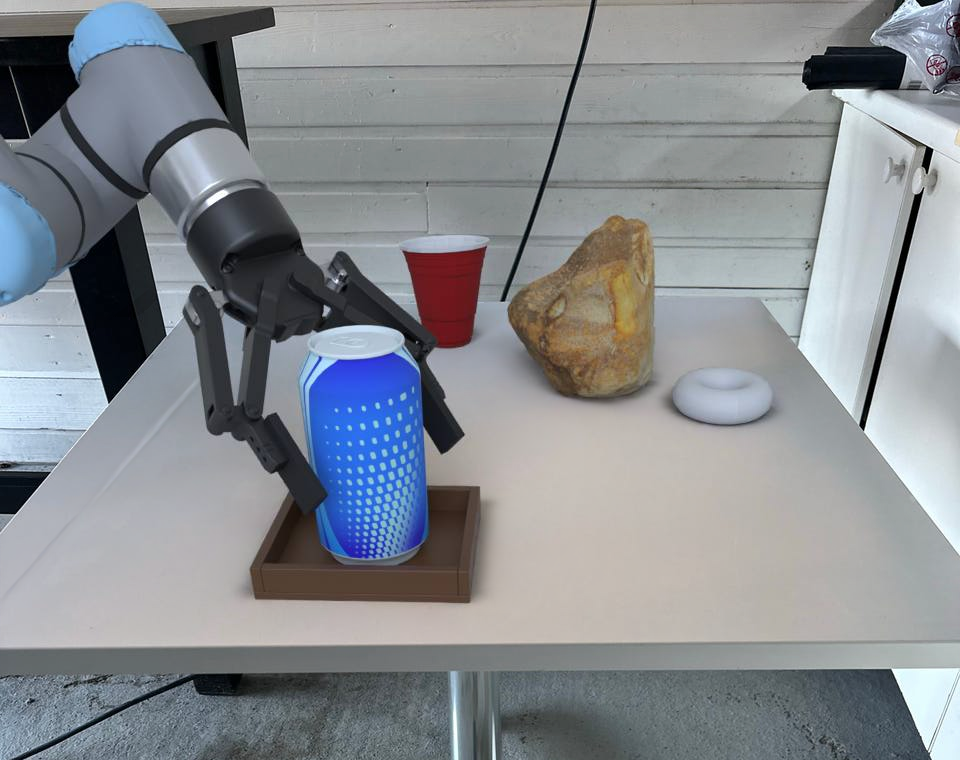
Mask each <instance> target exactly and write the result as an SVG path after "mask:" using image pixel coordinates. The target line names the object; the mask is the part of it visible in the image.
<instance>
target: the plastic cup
mask: <svg viewBox="0 0 960 760" xmlns="http://www.w3.org/2000/svg"><path fill="white" fill-rule="evenodd" d="M490 242H491V239H490V238H489V237H487V236H482V235H474V234H473V235H472V234H445V235H431V236H430V235H429V236H422V237H414V238H409V239H405V240H402V241H399V242H398V246H399V250H400V251H402V254H403V256H404V259H405V262H406V265H407V269H408V272H409V276H410V280H411V285H412V289H413V294H414V299H415V303H416V308H417V314H418V316H419V318H420V324H421V325H422V326H424V327H425V328H426V329H427V330H428V331H429V332H431V333H432V334H433V335H434V336H435V337H436V339H437V342H438V343H437V345H436V347H435V348H443V349H450V348H457V347H464V346H465V345H468V344H470V343H471V341H472V336H473V335H474V334H473V333H474V327H475V326H474V325H475V319H476V314H477V311H478V310H477V309H478V302H479V295H480V287H481V281H482V280H481V279H482V273H483V272H482V271H483V268H484V261H485V257H486V252H487V248H488V245H490Z"/></svg>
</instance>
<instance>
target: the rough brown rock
mask: <svg viewBox="0 0 960 760" xmlns="http://www.w3.org/2000/svg"><path fill="white" fill-rule="evenodd" d="M652 236H653V235H652V233H651V230H650V228H649V226H648V224H647V222H645V221H643V220H641V219H639V218H632V217H631V218H627V219H626V218H624V217H623V216H621V215H619V214H614V215H611V216H610V217H607V219H606V220H605V221H604V223H603V224H602V225H601V226H600V227H598V228H597V229H594V230H593V231H591V232H589V234H588V235H587V236H586V237H585V238H584V239H583V241H582V242H581V243H580V245H579V246H578V247H577V248H575V249H574V251H572V253H571V254H570V255H569V256H568V259H567V260H566V262H565V263H563V264H562V265H561V266H560V267H559V268H558V269H556V270H555V271H553V272H551V273H549V274H547V275H545V276H543V277H541V278H539V279H535V280H533V281H532V282H531V283H529V284H527V285H525V286H524V287H522V288H521V289H520V290H519V291H518V292H517V293H515V295H514V296H513V297H512V298H511V301H510V302H509V303H508V306H507V308H506V311H507V319H508V323H509V325H510V326H511V328H512V330H513V331H514V333H515V335H516V336H517V337H518V339H519V340H520V342H521V343H522V344H523V346H524V348H525V349H526V352H527V353H528V355H529V356H530V357H531V358H532V360H533V361H534V362H535V363H538V365H539V366H540V367H541V369H542V370H543V373H544V374H545V376H546V377H547V379H548V380H549V382H550V384H551V385H552V387H554V389H555V390H556V391H557V392H560V393H561V394H562V395H563V396H566V397H570V396H571V395H573V394H576V395H578V396H580V397H583V398H601V399H602V398H603V399H606V398H615V397H620V396H625V395H626V396H627V395H628V394H631V393H634V392H636V391H638V390H640V389H642V388H643V387H645V386H646V385H647V384H648V383H649V382H650V380H651V378H652V375H653V370H654V352H655V345H656V327H655V299H656V297H655V296H656V295H655V290H656V282H655V281H656V276H655V248H654V242H653V237H652Z"/></svg>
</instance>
